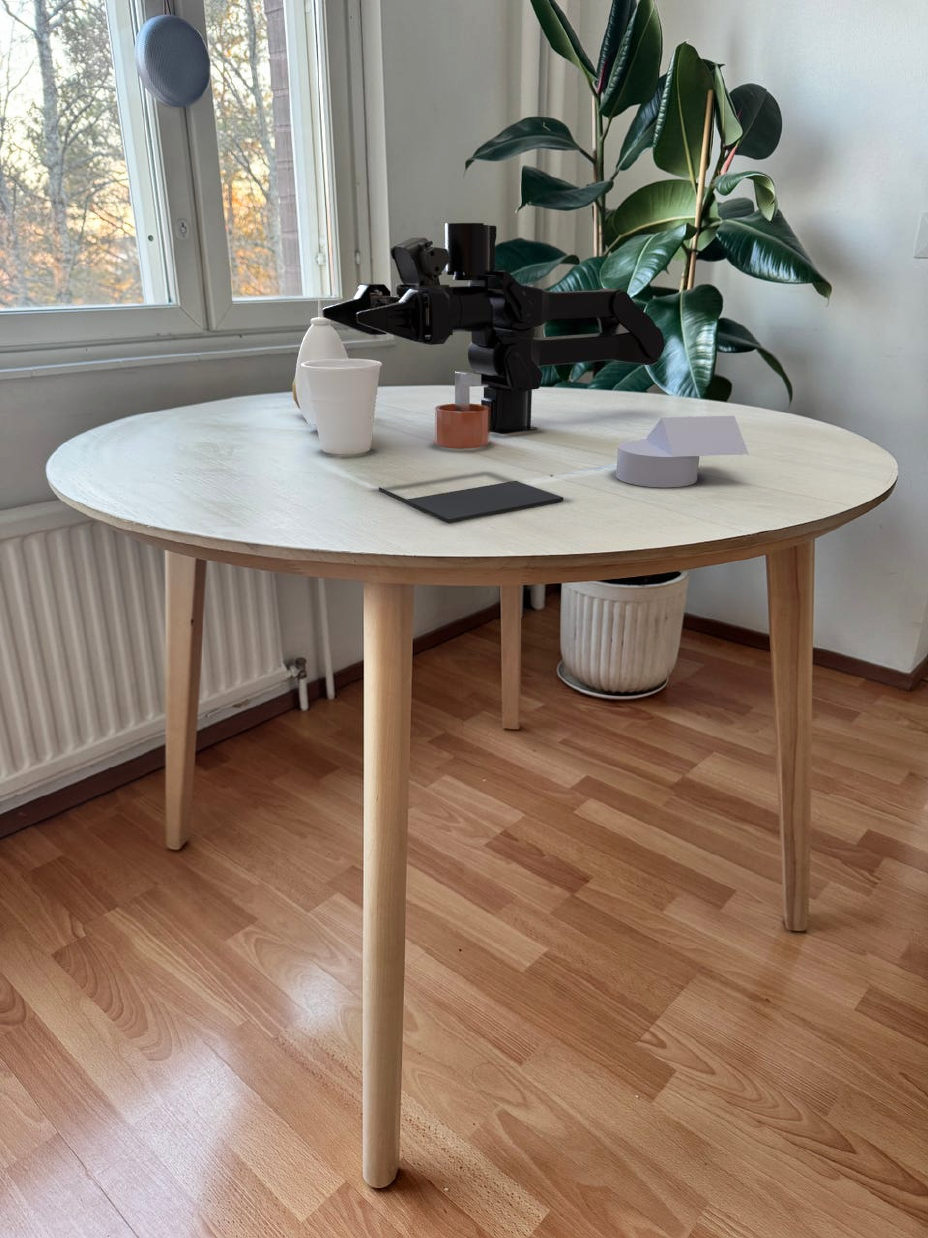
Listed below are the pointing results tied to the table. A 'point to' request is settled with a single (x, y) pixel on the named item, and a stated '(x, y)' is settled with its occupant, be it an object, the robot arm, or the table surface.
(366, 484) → the table surface
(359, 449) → the cup
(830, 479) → the table surface
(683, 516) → the table surface
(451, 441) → the pencil pot
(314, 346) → the sauce bottle
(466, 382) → the hex key
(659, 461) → the wedge on round base
